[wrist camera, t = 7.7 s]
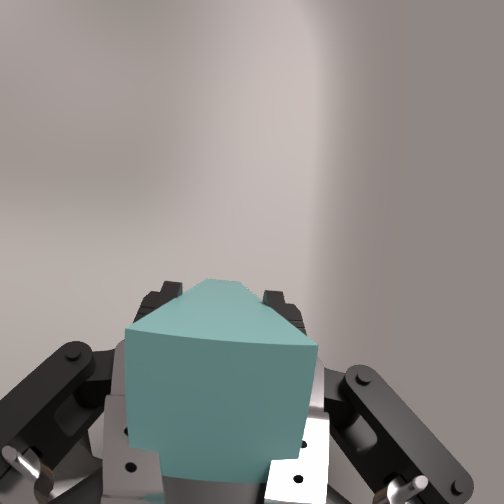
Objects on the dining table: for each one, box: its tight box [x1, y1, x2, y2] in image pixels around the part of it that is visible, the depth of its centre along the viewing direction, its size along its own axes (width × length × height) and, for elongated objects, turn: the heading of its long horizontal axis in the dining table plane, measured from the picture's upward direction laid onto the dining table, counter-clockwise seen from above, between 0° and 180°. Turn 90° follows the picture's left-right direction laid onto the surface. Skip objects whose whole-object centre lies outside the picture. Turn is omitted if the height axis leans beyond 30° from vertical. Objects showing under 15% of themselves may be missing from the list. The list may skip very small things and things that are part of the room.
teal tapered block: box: [125, 279, 318, 483], centre depth 18 cm, size 27×4×4 cm, turn 6°
